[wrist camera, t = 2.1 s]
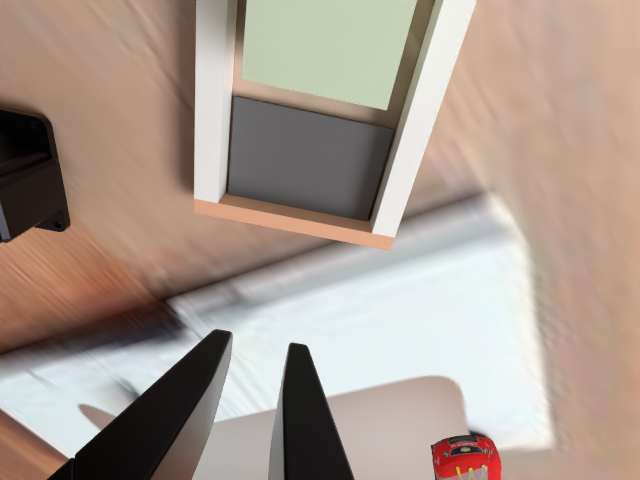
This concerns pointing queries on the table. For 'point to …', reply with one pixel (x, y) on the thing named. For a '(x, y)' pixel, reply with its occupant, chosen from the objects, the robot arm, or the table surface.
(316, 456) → the robot arm
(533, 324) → the table surface
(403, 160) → the channel
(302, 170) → the grey and orange drawer
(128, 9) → the table surface
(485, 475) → the race car
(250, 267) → the table surface
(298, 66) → the block
